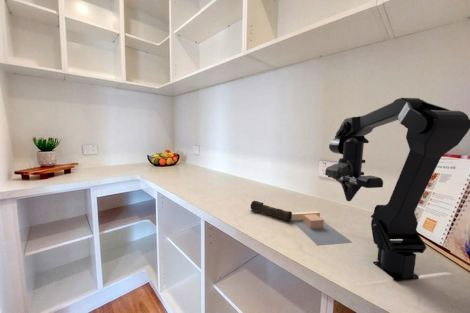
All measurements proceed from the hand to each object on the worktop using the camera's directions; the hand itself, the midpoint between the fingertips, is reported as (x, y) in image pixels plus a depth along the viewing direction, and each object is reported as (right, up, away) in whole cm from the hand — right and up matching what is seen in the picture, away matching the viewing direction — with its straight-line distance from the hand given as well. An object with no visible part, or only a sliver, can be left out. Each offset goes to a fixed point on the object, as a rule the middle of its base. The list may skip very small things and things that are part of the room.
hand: (348, 200), depth 66 cm
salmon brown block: (-10, -10, +5) cm, 15 cm away
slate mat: (-10, -11, +2) cm, 15 cm away
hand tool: (-25, -10, +13) cm, 30 cm away
